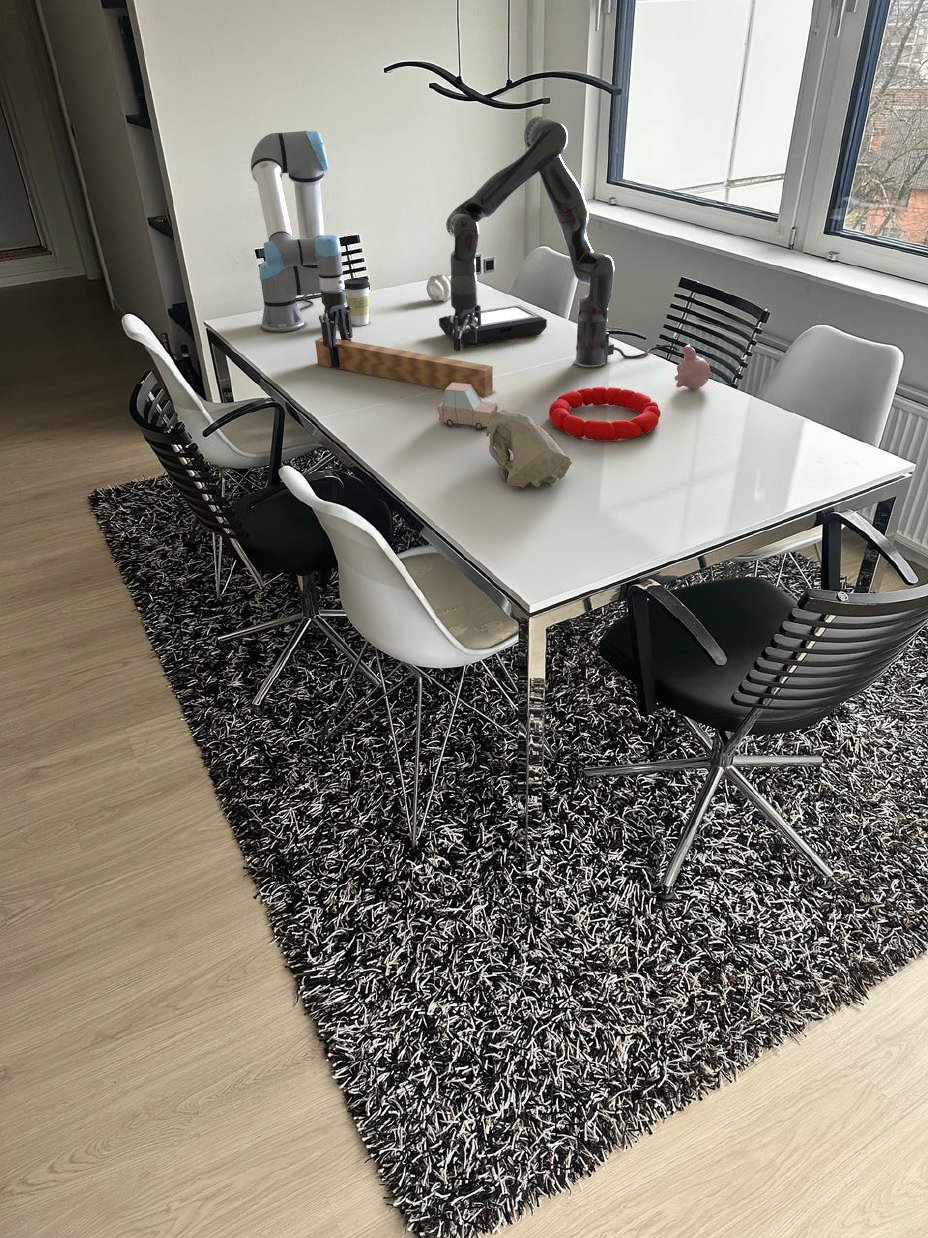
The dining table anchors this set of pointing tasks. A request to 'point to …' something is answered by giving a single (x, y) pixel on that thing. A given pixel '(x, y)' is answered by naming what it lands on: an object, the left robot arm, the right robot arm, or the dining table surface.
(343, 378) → the dining table surface
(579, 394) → the decorative ring
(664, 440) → the dining table surface
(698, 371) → the figurine
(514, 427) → the animal skull
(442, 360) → the bar
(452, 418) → the toy car
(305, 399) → the dining table surface
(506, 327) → the electronic device
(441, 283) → the seashell
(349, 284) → the coffee cup
